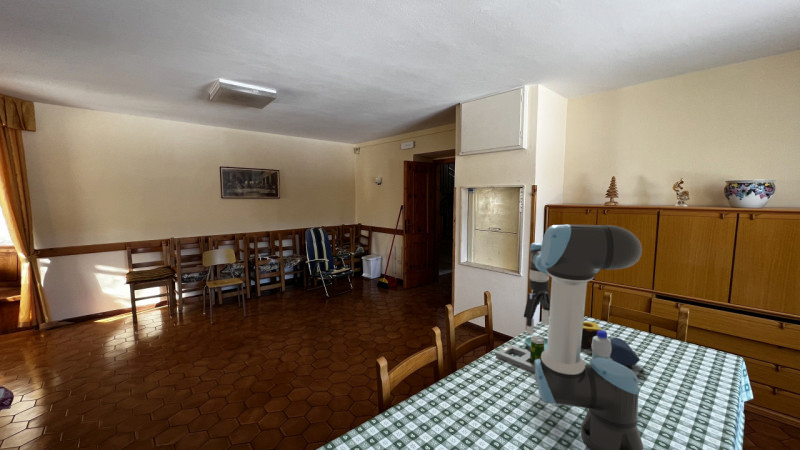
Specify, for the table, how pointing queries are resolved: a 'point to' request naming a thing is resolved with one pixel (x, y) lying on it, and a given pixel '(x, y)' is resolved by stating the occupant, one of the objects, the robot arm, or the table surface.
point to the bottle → (601, 346)
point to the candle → (589, 334)
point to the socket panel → (520, 361)
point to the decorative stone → (622, 353)
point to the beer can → (536, 348)
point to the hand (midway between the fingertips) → (537, 328)
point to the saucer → (528, 342)
